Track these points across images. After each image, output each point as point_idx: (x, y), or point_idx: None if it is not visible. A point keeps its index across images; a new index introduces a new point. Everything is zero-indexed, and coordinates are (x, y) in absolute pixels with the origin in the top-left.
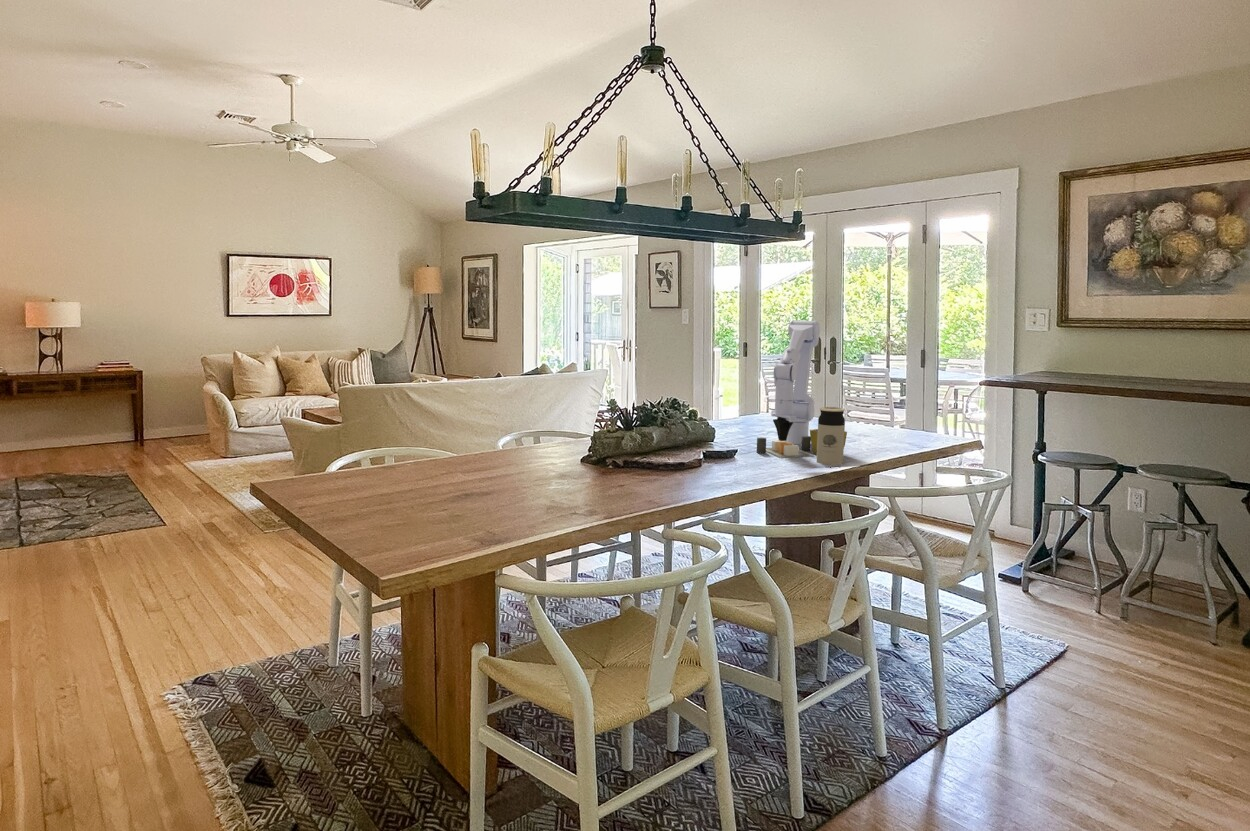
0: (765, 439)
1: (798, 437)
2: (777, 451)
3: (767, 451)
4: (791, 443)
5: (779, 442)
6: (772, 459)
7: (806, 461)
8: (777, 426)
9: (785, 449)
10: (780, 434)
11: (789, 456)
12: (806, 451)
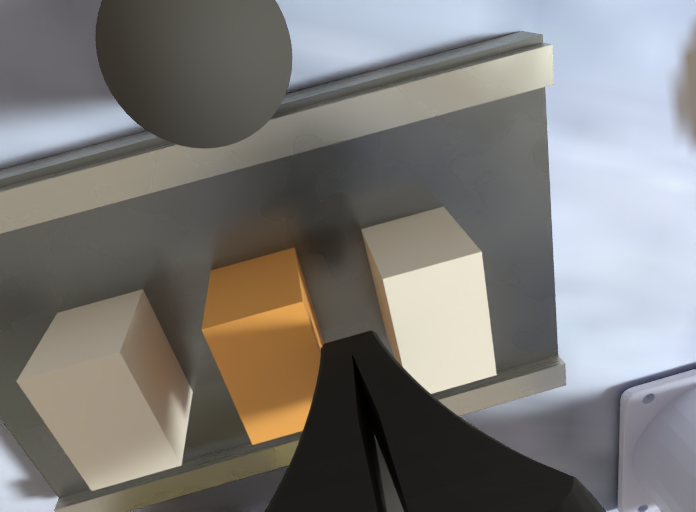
0: (141, 121)
1: (691, 498)
2: (312, 247)
3: None
4: (269, 436)
5: (392, 321)
6: (29, 139)
7: (13, 437)
8: (394, 467)
9: (81, 337)
10: (311, 405)
11: (14, 331)
12: None
